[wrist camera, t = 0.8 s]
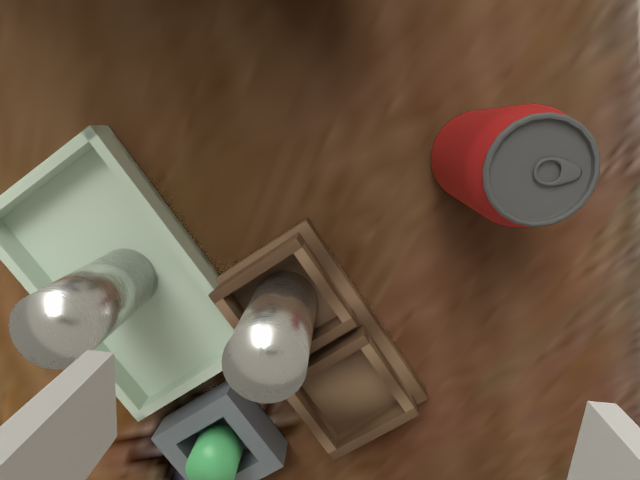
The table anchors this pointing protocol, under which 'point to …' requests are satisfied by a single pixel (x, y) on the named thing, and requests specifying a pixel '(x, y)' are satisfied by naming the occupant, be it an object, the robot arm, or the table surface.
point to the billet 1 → (81, 308)
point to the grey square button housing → (231, 410)
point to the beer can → (517, 164)
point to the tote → (110, 234)
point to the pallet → (331, 345)
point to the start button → (215, 454)
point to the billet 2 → (272, 339)
